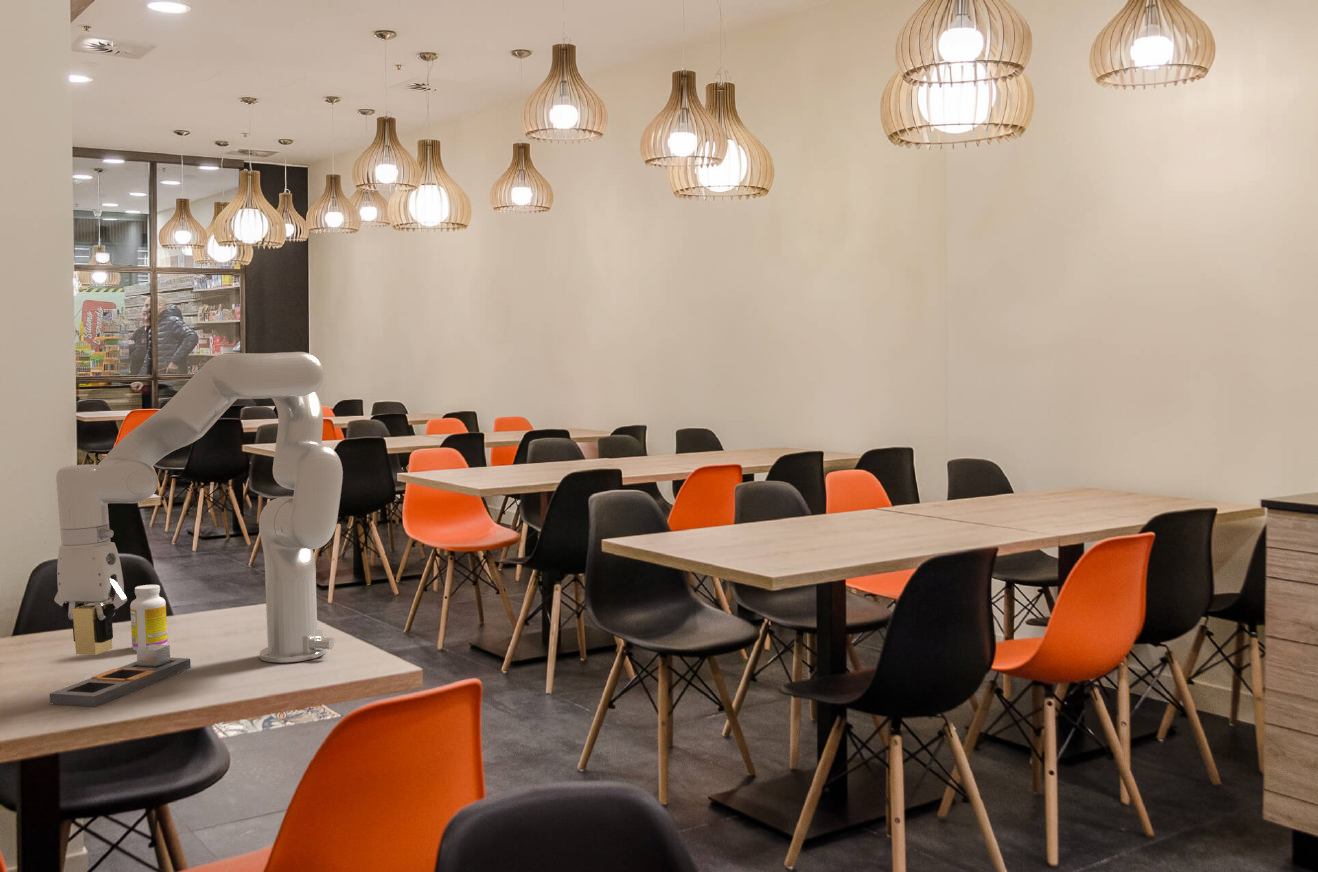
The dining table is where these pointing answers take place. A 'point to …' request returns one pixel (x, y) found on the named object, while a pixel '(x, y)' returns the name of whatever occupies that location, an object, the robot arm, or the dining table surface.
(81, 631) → the brass nut
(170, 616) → the dining table surface
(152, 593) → the supplement bottle
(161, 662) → the block
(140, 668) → the rail
